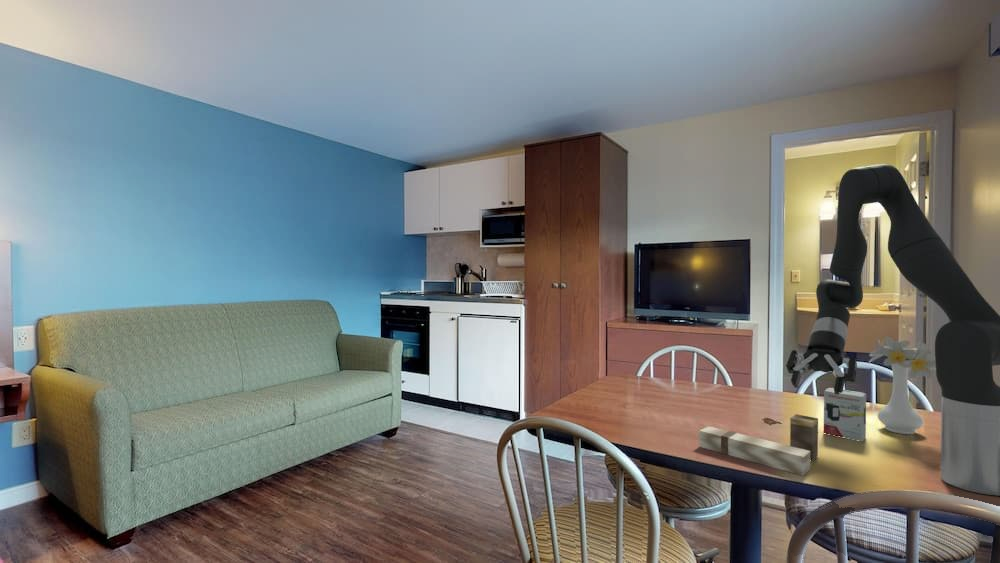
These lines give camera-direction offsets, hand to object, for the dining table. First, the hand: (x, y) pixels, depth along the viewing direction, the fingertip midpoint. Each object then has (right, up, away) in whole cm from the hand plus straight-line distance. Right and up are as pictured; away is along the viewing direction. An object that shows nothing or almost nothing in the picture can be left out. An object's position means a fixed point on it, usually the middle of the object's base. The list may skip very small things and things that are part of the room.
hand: (815, 389), depth 112 cm
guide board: (-19, -14, -7) cm, 25 cm away
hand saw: (0, -15, +28) cm, 32 cm away
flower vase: (+32, -14, +11) cm, 37 cm away
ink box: (+13, -14, +8) cm, 21 cm away
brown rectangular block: (-7, -14, -6) cm, 17 cm away
